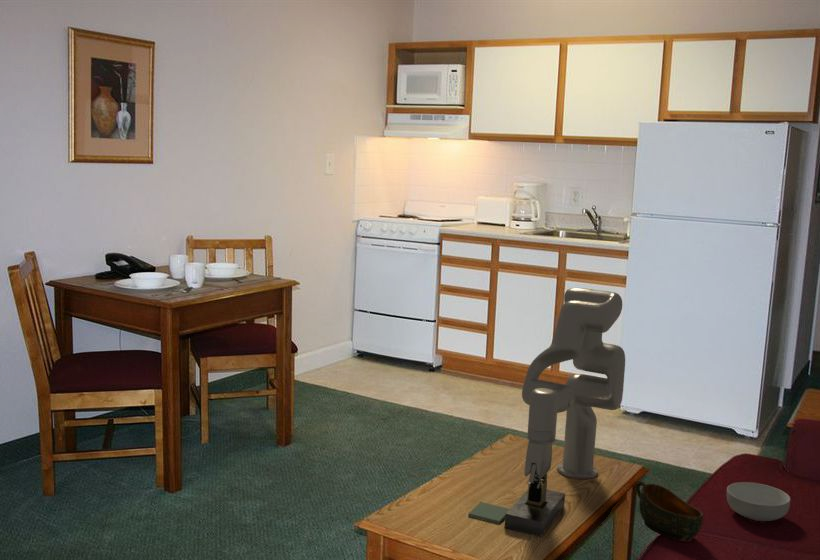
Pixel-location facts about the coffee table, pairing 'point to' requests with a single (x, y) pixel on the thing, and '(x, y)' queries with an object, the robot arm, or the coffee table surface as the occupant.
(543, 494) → the brass plug
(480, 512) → the green mat
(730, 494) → the cereal bowl
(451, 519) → the coffee table surface
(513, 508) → the dark square-hole plate
